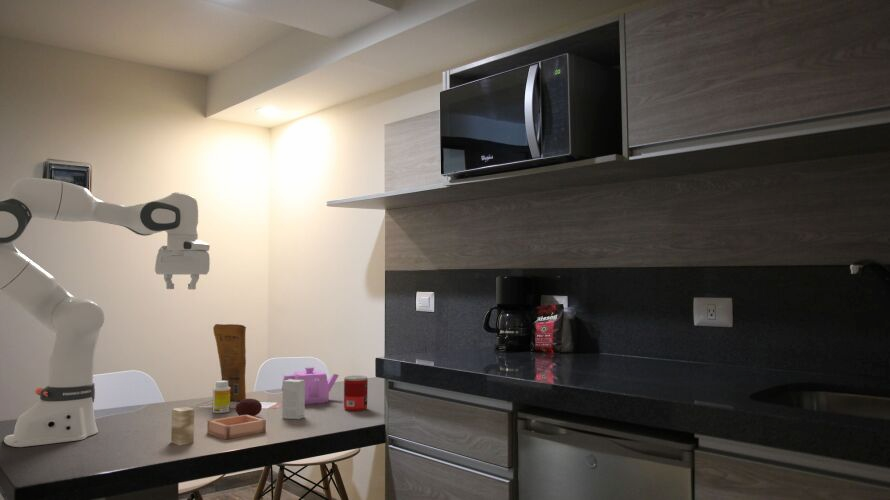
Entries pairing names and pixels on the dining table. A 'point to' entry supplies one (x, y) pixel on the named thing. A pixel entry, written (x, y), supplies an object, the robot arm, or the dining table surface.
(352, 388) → the canned food
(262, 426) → the tray
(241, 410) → the potato
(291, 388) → the skincare box
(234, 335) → the pancake mix bag
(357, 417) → the dining table surface
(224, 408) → the supplement bottle
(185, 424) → the beige tall rectangular block
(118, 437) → the dining table surface
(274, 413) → the dining table surface
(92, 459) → the dining table surface
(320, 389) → the teakettle
